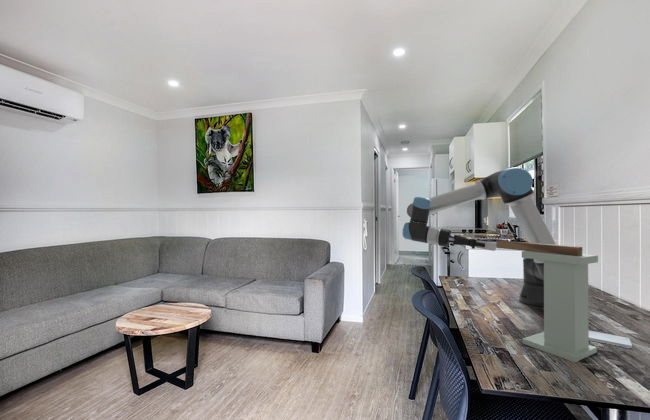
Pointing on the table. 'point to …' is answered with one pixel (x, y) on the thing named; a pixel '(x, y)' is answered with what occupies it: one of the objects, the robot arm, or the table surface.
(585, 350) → the sage stand
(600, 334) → the hard drive
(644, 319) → the table surface
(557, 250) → the walnut bar
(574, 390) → the table surface
